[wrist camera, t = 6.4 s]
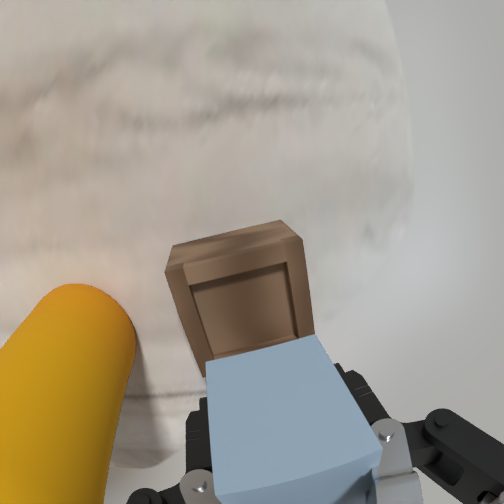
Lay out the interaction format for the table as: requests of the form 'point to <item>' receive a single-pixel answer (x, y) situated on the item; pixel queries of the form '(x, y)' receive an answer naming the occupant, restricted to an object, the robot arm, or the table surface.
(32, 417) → the beer bottle
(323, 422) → the lid block
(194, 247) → the walnut base
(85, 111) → the table surface
